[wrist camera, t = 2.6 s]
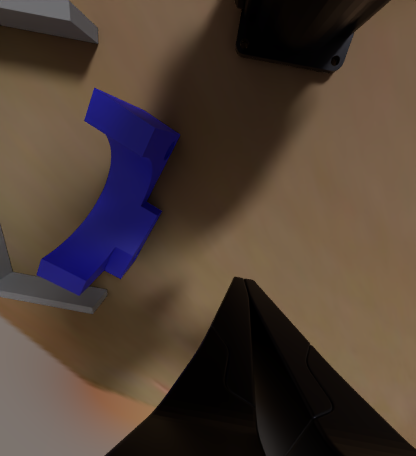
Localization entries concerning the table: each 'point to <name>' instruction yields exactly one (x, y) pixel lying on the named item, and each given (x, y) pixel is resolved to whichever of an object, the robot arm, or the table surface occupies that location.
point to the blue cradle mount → (115, 197)
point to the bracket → (3, 275)
